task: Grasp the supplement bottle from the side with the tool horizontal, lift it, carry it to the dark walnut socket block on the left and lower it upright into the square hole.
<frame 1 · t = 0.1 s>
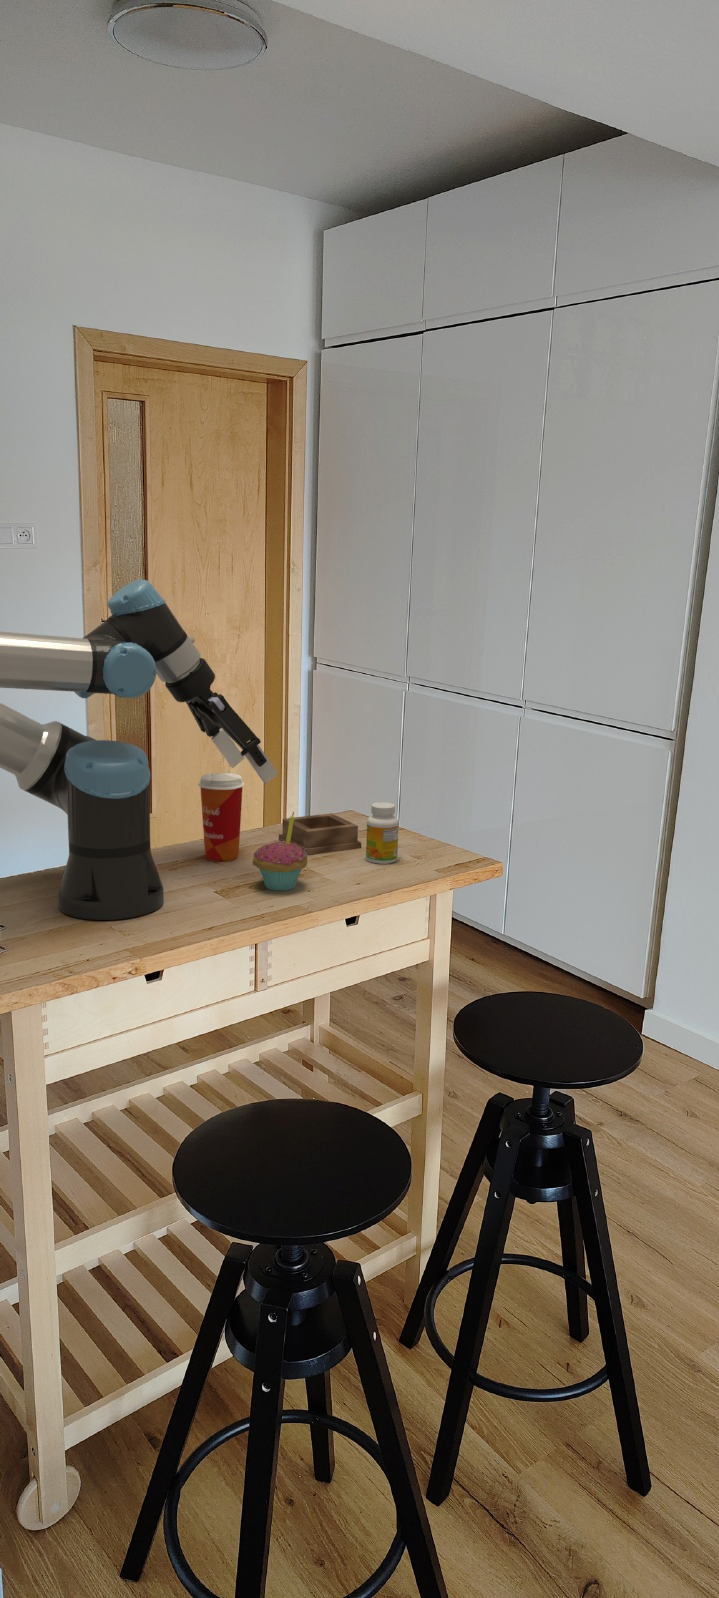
hand: (254, 770, 181), 15 cm above the table, tool tilted 35°, fingers open, 13 cm apart
cupcake: (280, 887, 169), on the table
socket block: (319, 843, 194), on the table
supplement bottle: (381, 861, 185), on the table
paper cup: (222, 858, 184), on the table
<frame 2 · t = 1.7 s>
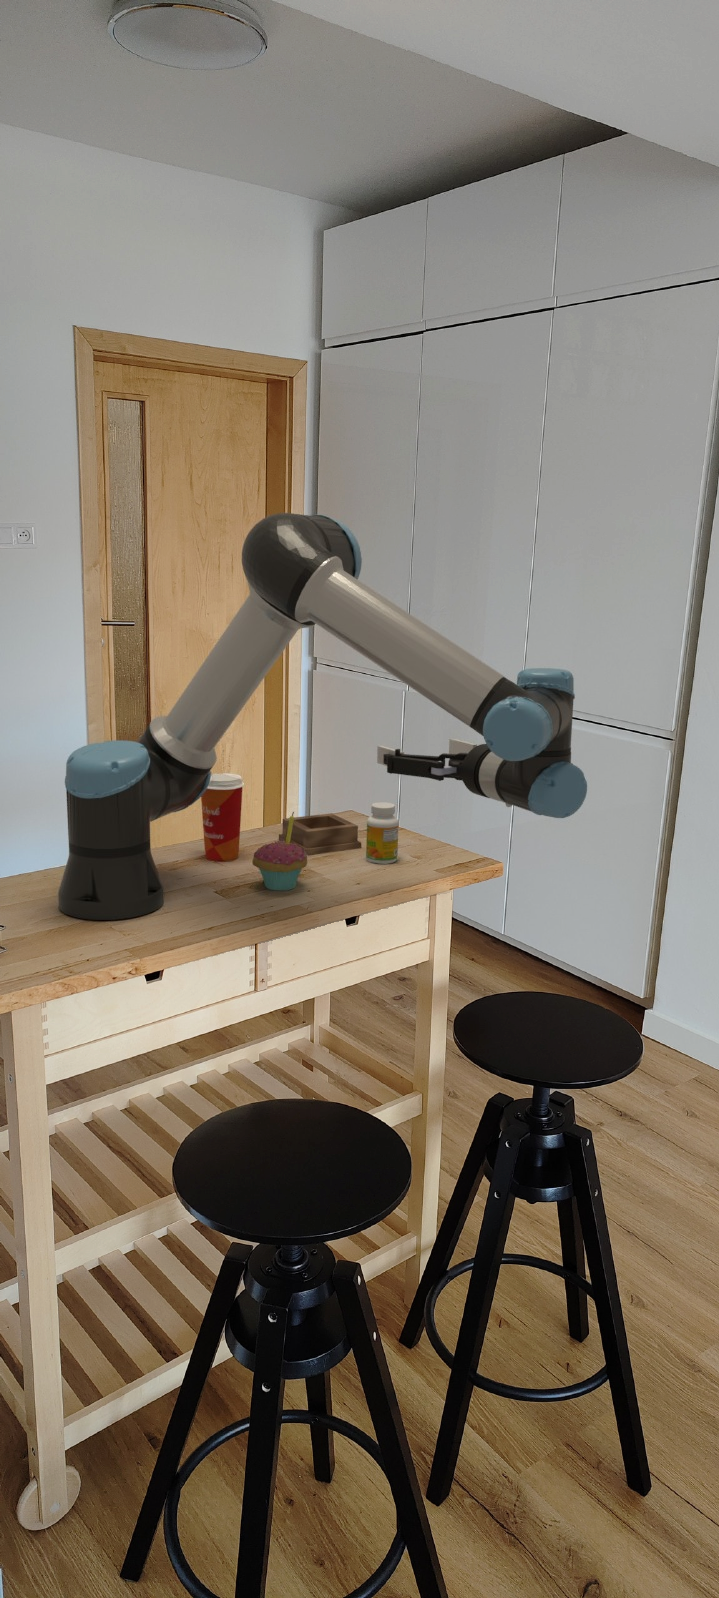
hand: (415, 750, 172), 21 cm above the table, tool horizontal, fingers open, 13 cm apart
nothing on the table moved.
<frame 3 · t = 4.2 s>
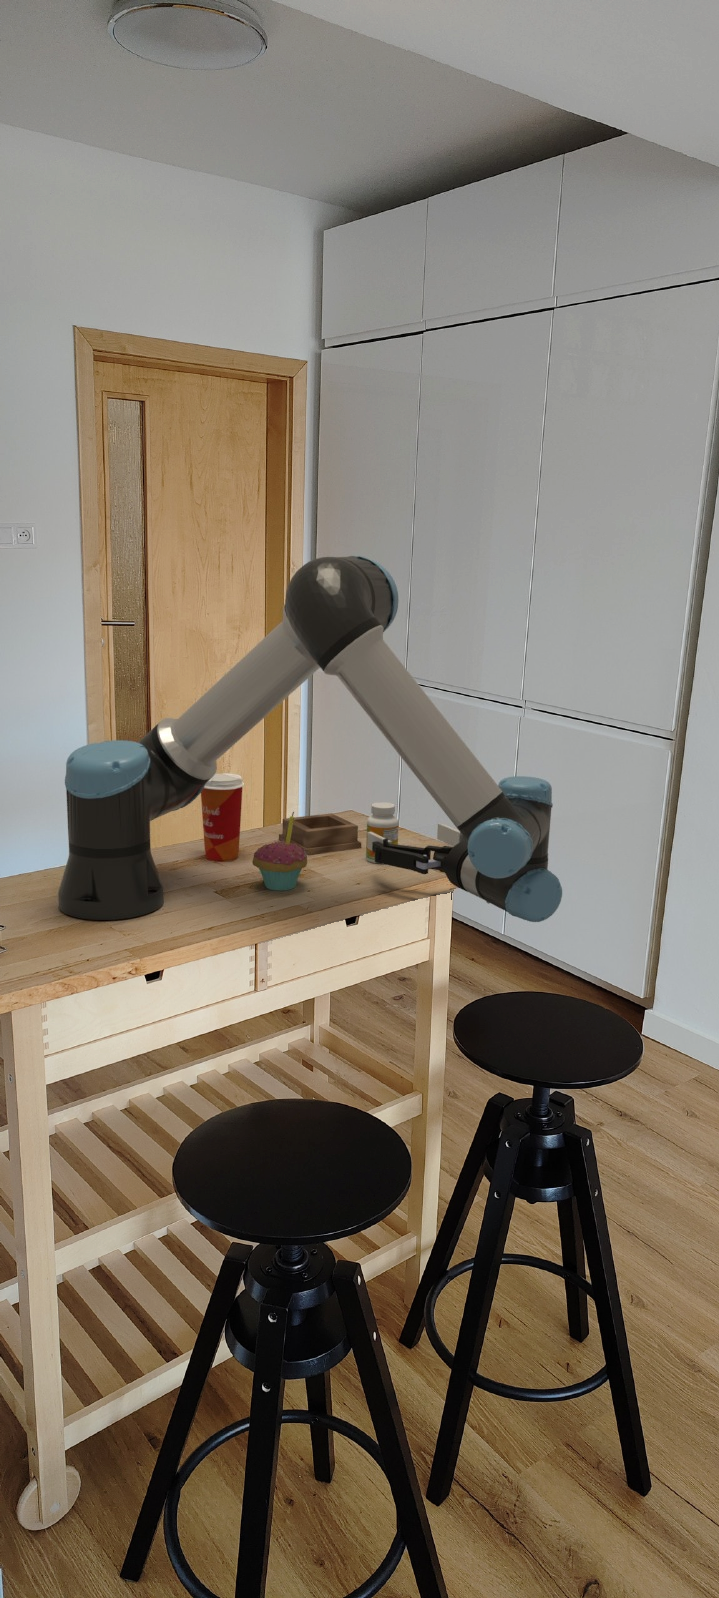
hand: (404, 835, 178), 6 cm above the table, tool horizontal, fingers open, 13 cm apart
nothing on the table moved.
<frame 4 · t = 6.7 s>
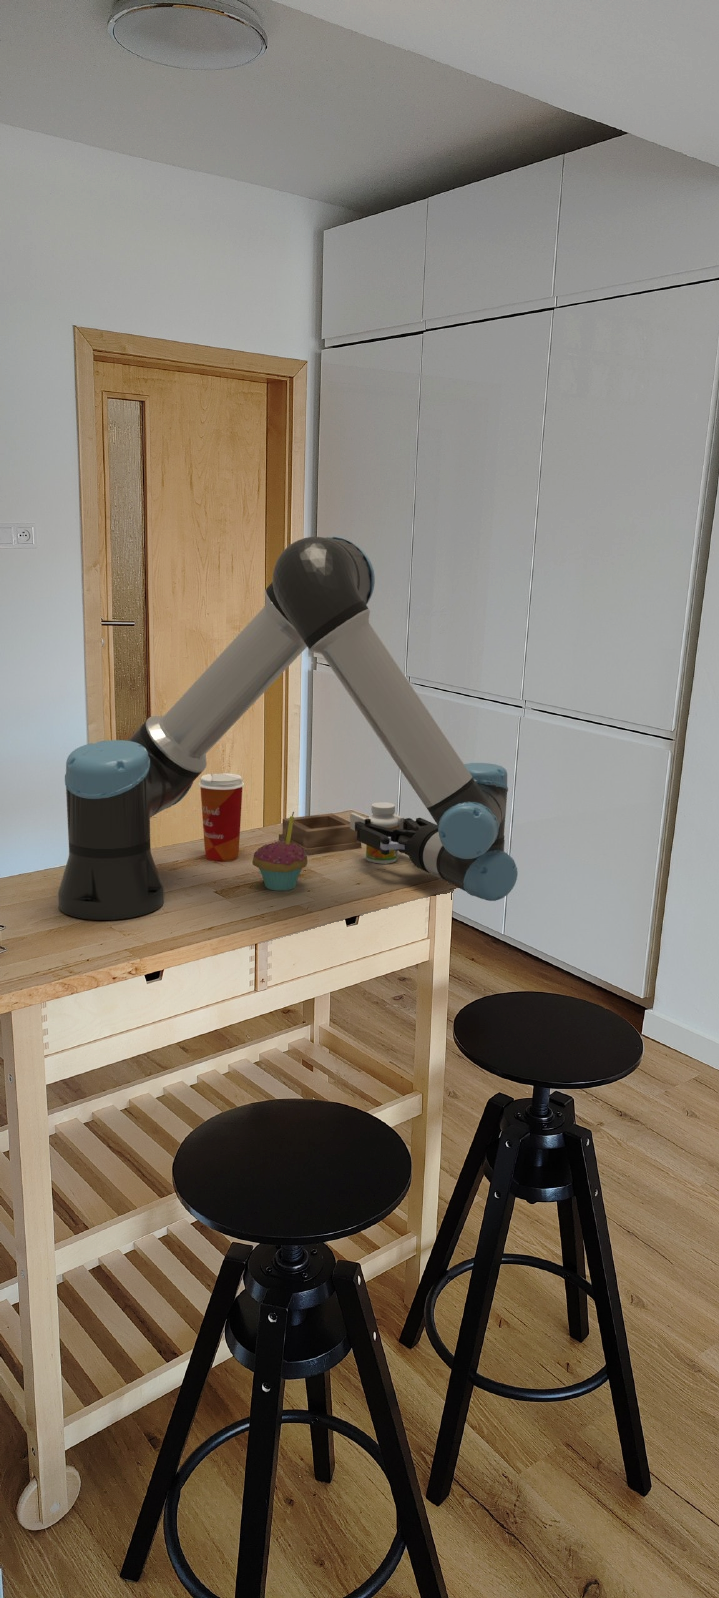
hand: (367, 818, 188), 6 cm above the table, tool horizontal, fingers closed on supplement bottle, 5 cm apart
supplement bottle: (381, 861, 185), on the table, touching gripper
everything else where it was.
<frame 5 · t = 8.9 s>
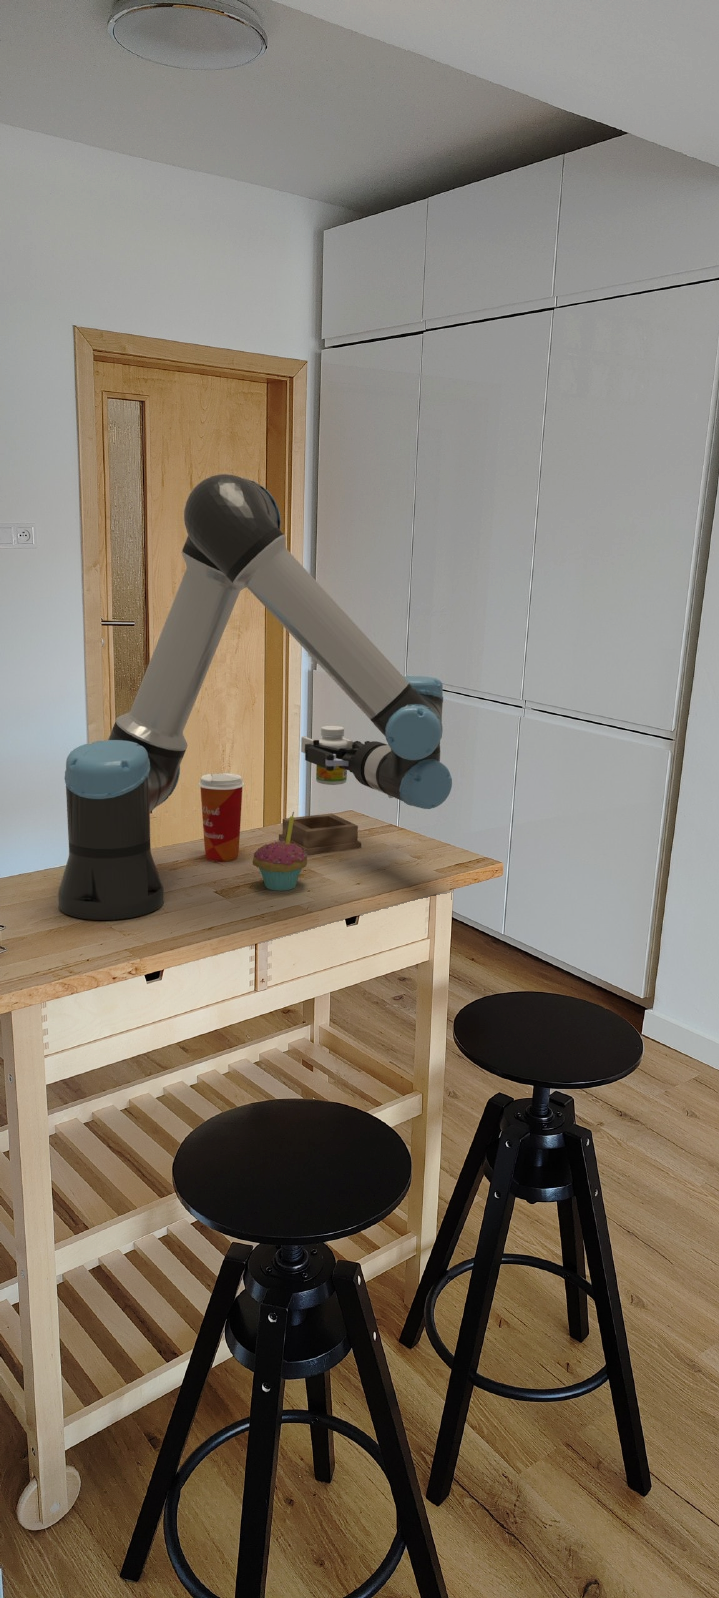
hand: (318, 743, 193), 18 cm above the table, tool horizontal, fingers closed on supplement bottle, 5 cm apart
supplement bottle: (331, 783, 190), point 11 cm above the table, touching gripper
everything else where it was.
when the fingers open (9 cm above the table, at t = 11.1 s): supplement bottle drops 2 cm, resting on socket block.
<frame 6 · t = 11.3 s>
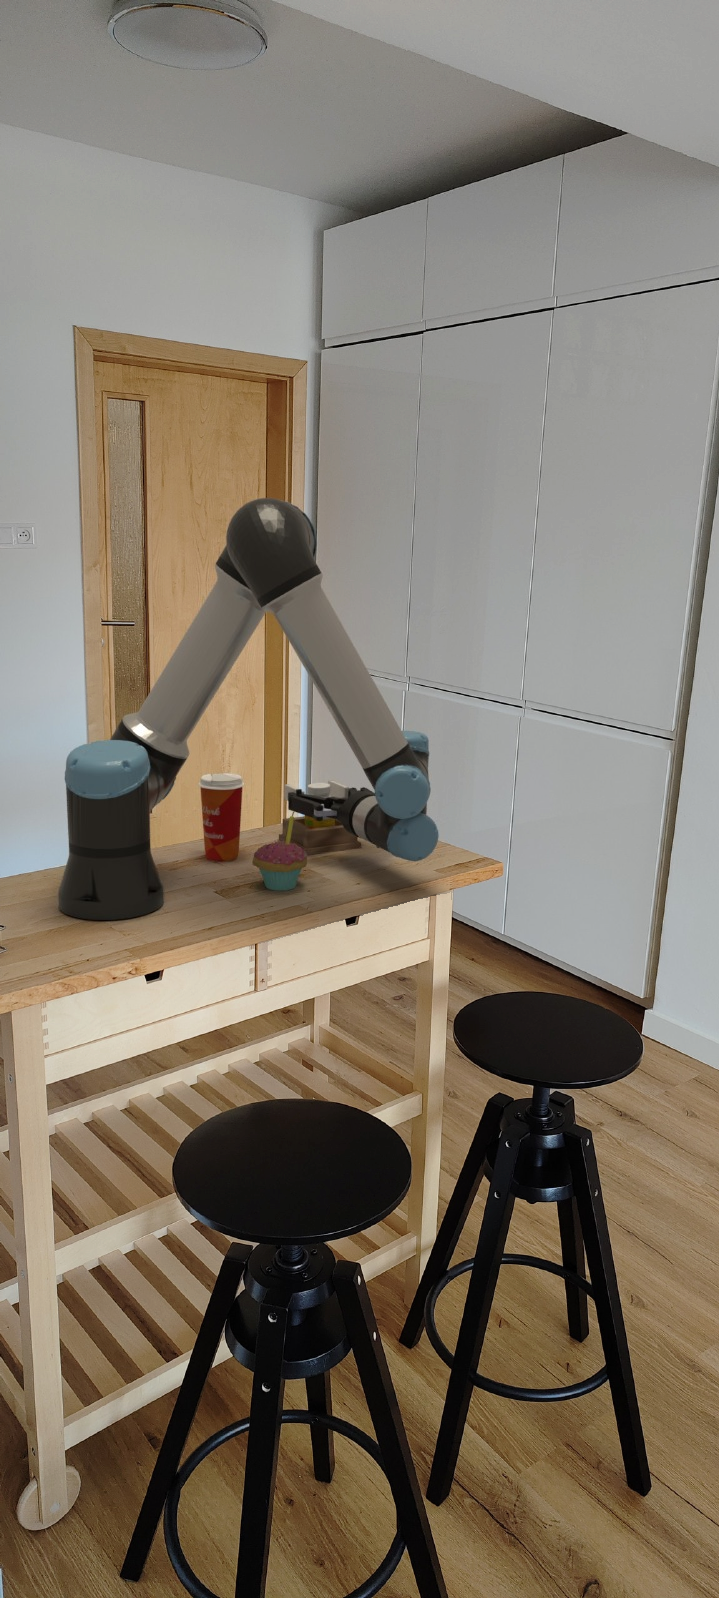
hand: (308, 789, 196), 9 cm above the table, tool horizontal, fingers open, 8 cm apart
supplement bottle: (320, 839, 193), point 1 cm above the table, touching socket block
everything else where it was.
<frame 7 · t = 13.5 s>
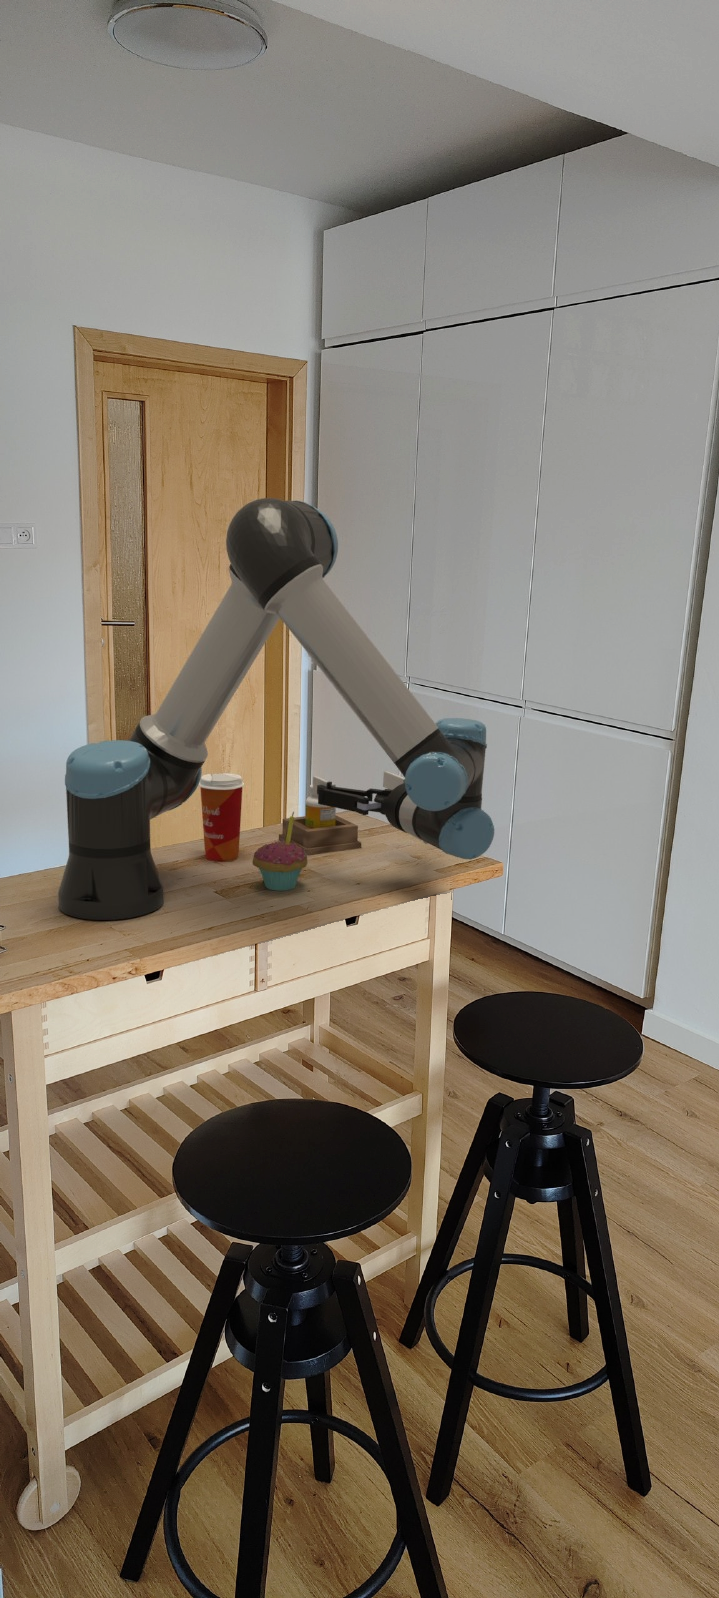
hand: (350, 781, 182), 13 cm above the table, tool horizontal, fingers open, 13 cm apart
nothing on the table moved.
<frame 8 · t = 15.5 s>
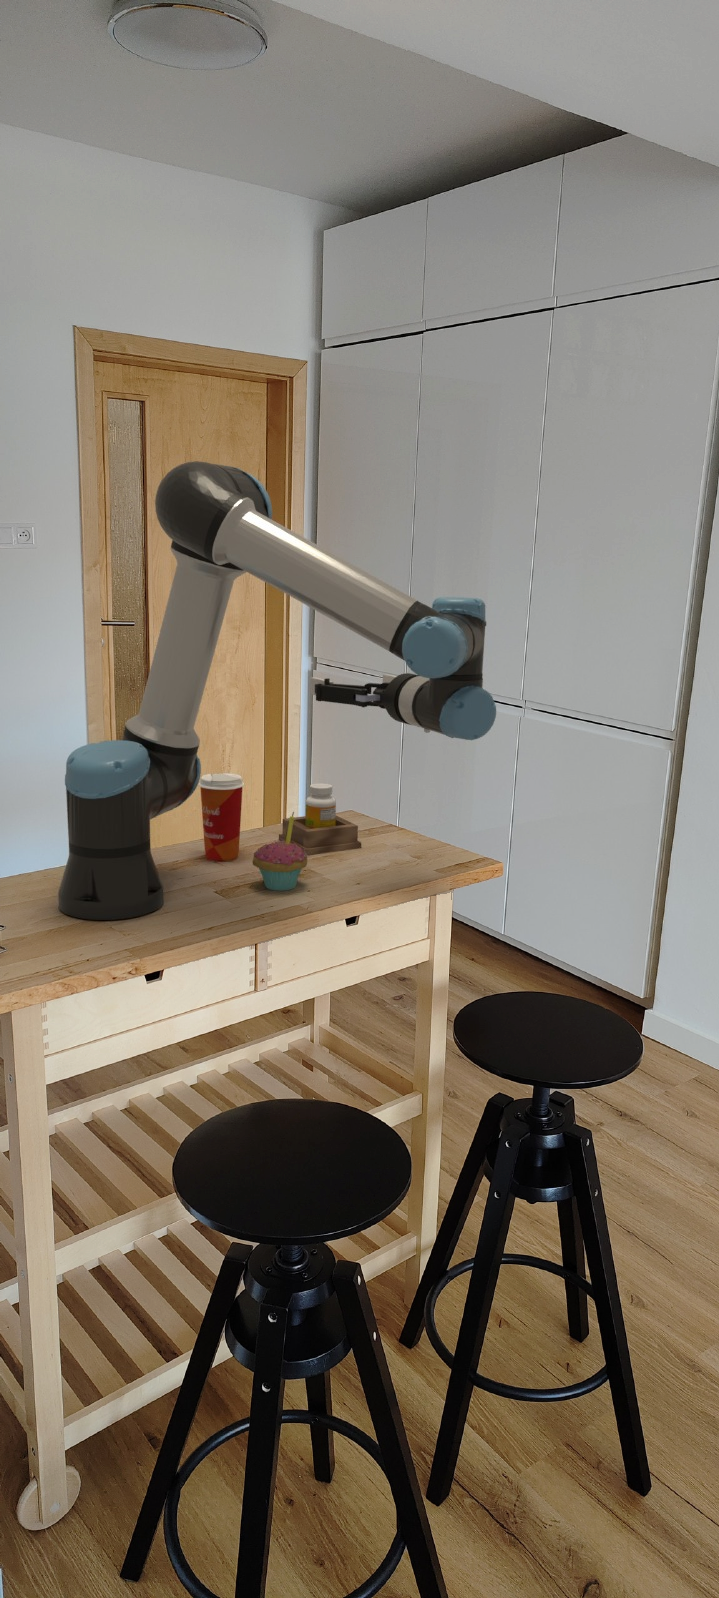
hand: (349, 683, 179), 30 cm above the table, tool horizontal, fingers open, 13 cm apart
nothing on the table moved.
at the end: supplement bottle 0.1 cm from the socket block (horizontally); supplement bottle point 0.8 cm above the table; supplement bottle tilted 0° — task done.
